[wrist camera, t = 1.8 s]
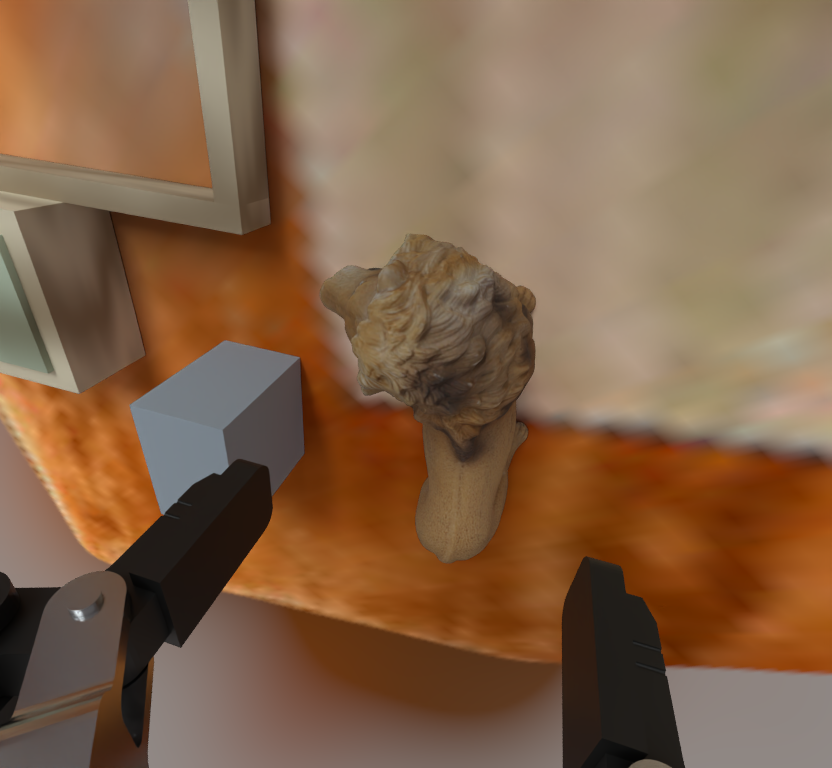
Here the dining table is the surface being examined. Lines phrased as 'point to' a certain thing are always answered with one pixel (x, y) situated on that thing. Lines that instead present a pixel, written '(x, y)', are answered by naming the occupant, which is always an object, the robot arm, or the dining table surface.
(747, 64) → the dining table surface
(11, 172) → the grey rectangular frame
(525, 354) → the lion figurine
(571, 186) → the dining table surface
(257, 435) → the fin block
